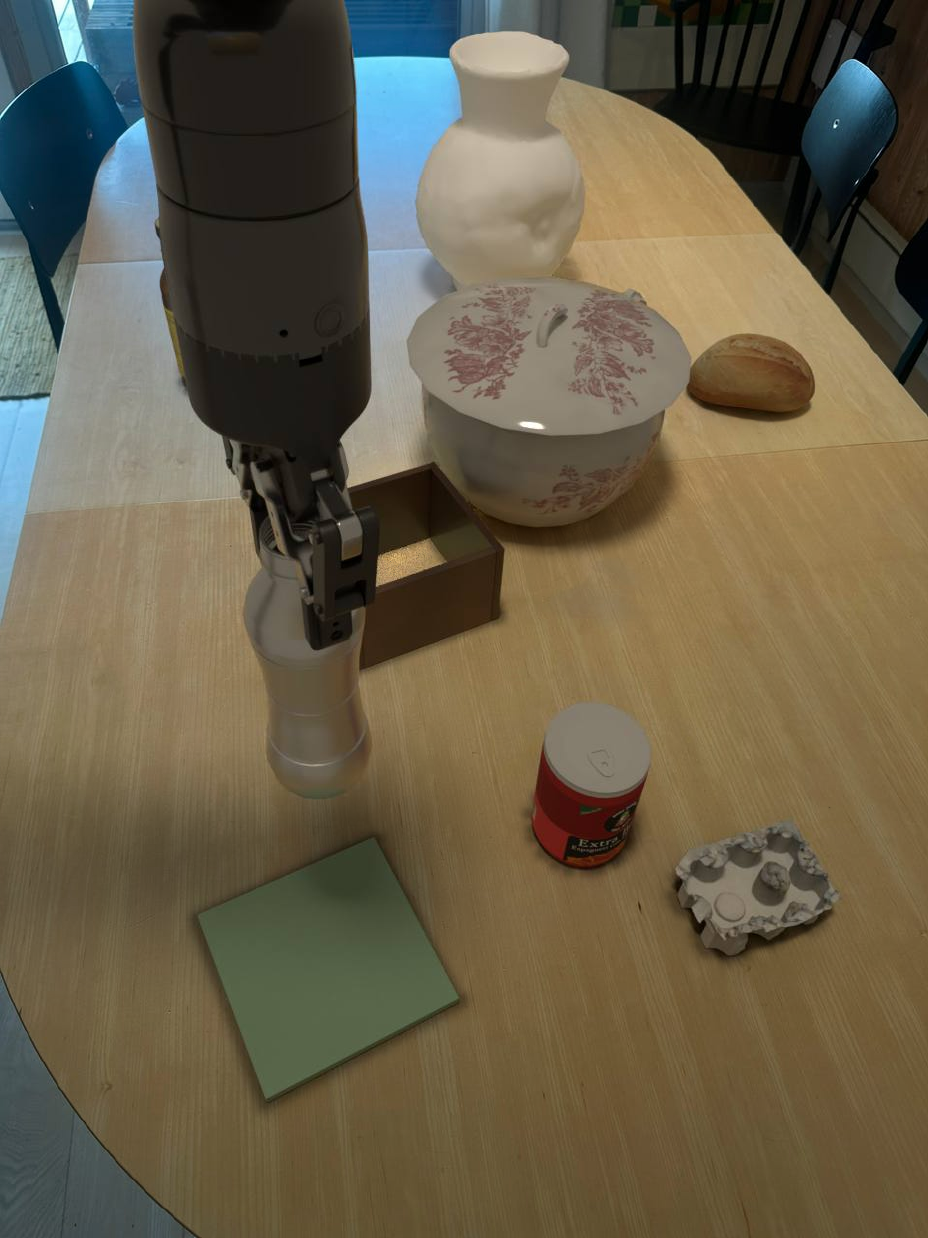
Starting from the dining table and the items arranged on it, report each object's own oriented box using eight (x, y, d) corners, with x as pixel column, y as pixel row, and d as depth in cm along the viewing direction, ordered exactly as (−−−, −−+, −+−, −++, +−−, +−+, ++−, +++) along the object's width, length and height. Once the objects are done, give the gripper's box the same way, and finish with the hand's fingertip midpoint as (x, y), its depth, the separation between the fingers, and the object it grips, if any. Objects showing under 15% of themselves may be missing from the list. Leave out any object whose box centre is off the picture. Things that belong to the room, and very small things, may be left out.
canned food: (569, 888, 73) (589, 811, 65) (510, 808, 78) (521, 727, 69) (647, 841, 76) (676, 762, 68) (586, 767, 80) (606, 685, 72)
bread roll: (811, 432, 114) (833, 374, 108) (683, 416, 115) (697, 357, 109) (805, 386, 120) (825, 329, 114) (684, 371, 121) (698, 313, 115)
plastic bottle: (366, 719, 64) (355, 480, 49) (380, 807, 59) (371, 572, 45) (267, 731, 63) (225, 491, 48) (273, 821, 58) (229, 586, 44)
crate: (356, 671, 86) (351, 602, 80) (299, 574, 94) (291, 504, 88) (498, 618, 92) (505, 548, 85) (432, 530, 99) (434, 461, 93)
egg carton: (709, 967, 69) (722, 943, 66) (661, 875, 74) (672, 849, 71) (836, 923, 72) (854, 898, 69) (782, 837, 77) (797, 810, 74)
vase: (389, 287, 132) (384, 42, 110) (500, 240, 143) (517, 9, 121) (482, 345, 124) (498, 91, 101) (594, 291, 134) (630, 50, 112)
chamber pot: (432, 585, 94) (436, 407, 79) (388, 418, 112) (384, 247, 97) (702, 552, 99) (755, 377, 84) (618, 397, 117) (649, 230, 102)
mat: (266, 1103, 62) (265, 1099, 62) (198, 919, 70) (196, 914, 70) (459, 1002, 67) (459, 998, 66) (374, 841, 75) (374, 836, 75)
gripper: (120, 232, 40) (186, 533, 52) (245, 421, 32) (288, 726, 44) (291, 200, 43) (315, 494, 55) (446, 367, 34) (434, 668, 47)
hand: (303, 596), depth 49 cm, fingers closed on plastic bottle, 6 cm apart
